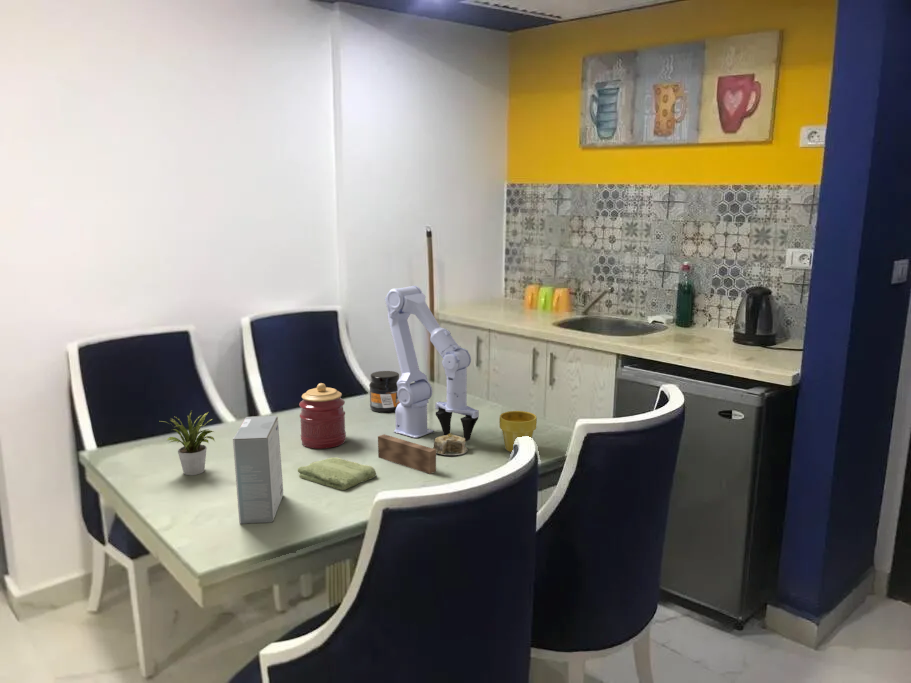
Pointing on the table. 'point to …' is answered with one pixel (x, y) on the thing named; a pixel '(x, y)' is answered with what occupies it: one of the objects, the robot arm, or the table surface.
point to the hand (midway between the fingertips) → (456, 437)
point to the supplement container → (384, 391)
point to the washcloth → (337, 473)
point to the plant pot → (516, 426)
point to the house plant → (192, 446)
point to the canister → (322, 418)
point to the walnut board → (407, 453)
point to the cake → (450, 444)
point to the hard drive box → (258, 469)
